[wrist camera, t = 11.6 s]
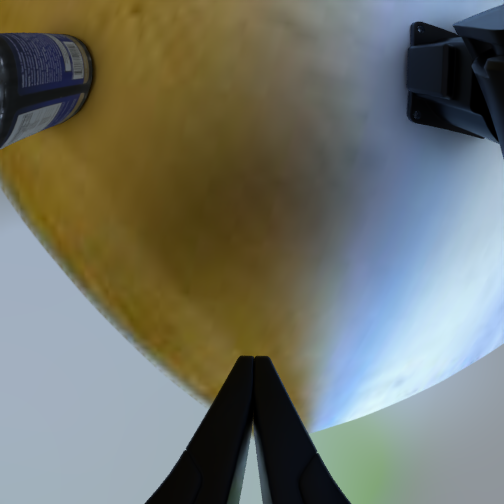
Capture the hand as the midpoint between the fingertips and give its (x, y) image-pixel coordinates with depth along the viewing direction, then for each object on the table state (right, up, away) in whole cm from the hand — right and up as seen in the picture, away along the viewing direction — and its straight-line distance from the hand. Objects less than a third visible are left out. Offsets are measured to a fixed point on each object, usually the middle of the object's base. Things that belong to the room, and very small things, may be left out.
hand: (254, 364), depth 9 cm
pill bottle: (-12, +14, +6) cm, 20 cm away
